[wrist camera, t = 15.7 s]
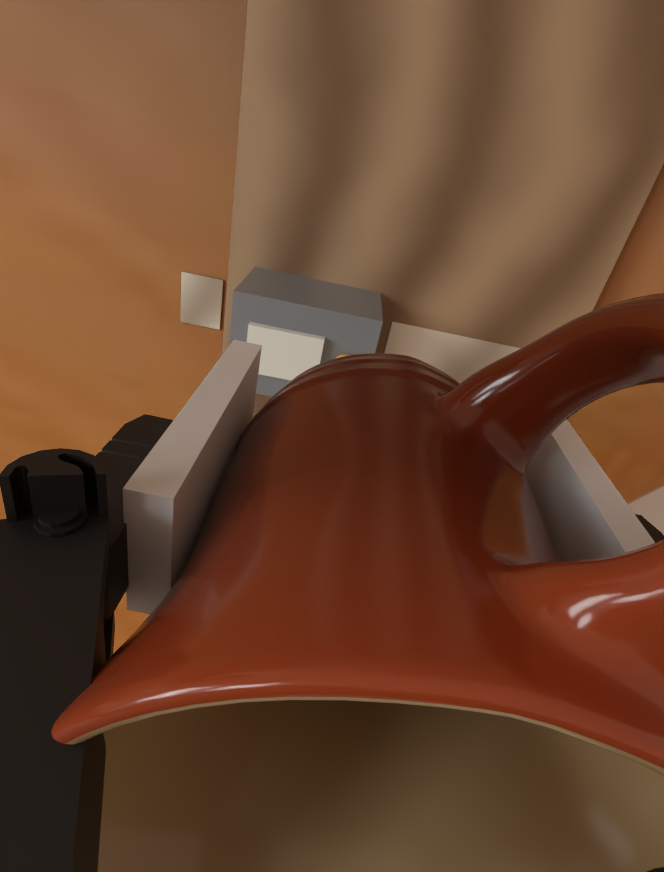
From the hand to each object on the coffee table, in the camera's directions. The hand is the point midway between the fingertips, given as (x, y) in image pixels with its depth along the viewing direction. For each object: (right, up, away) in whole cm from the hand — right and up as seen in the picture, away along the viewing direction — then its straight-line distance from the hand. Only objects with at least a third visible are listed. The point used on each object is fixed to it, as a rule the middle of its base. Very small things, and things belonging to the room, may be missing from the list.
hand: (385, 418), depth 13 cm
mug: (+1, 0, +1) cm, 1 cm away
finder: (-3, +6, +14) cm, 16 cm away
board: (+2, +12, +12) cm, 17 cm away
